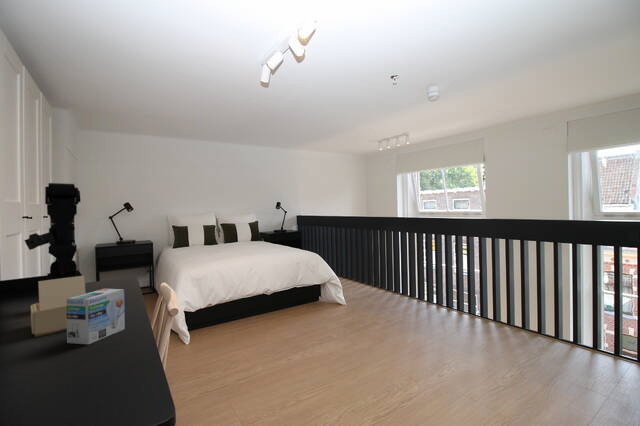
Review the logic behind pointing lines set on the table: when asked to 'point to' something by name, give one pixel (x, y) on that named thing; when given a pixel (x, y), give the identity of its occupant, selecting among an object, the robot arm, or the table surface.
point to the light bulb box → (95, 315)
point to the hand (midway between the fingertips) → (63, 274)
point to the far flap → (59, 291)
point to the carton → (48, 320)
